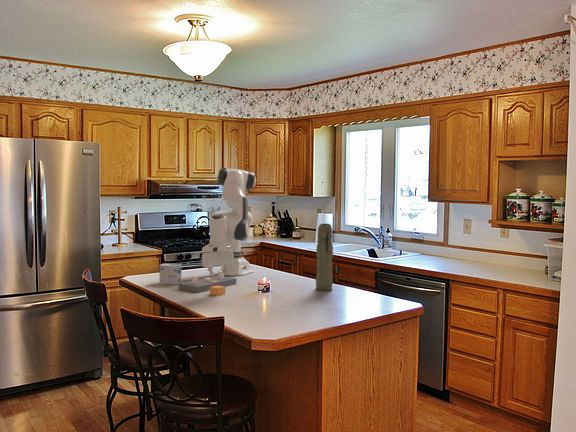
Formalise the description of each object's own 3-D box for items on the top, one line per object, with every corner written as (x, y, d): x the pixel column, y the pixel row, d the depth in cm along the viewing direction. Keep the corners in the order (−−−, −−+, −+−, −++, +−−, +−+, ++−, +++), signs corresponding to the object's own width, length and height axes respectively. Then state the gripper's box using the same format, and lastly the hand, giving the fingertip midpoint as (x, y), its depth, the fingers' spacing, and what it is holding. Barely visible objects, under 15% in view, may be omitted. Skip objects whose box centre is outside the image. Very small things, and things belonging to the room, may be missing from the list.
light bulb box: (181, 282, 293) (181, 263, 292) (178, 285, 286) (178, 265, 286) (163, 282, 294) (163, 263, 294) (159, 284, 288) (159, 264, 287)
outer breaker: (195, 283, 277) (195, 275, 276) (198, 284, 275) (198, 276, 275) (191, 284, 275) (191, 276, 275) (195, 284, 273) (195, 276, 273)
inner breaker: (220, 278, 293) (220, 270, 293) (224, 278, 292) (224, 271, 291) (217, 278, 291) (217, 271, 291) (221, 279, 290) (221, 271, 289)
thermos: (323, 292, 273) (324, 225, 270) (311, 288, 283) (312, 223, 280) (337, 290, 277) (338, 224, 275) (324, 286, 287) (325, 222, 285)
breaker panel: (217, 280, 300) (217, 275, 299) (236, 283, 292) (236, 278, 291) (178, 289, 275) (178, 283, 275) (197, 292, 267) (197, 286, 267)
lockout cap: (217, 292, 268) (217, 285, 268) (225, 293, 265) (225, 286, 265) (210, 294, 264) (210, 287, 264) (218, 295, 261) (218, 288, 261)
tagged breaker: (208, 285, 285) (208, 277, 285) (211, 286, 284) (211, 278, 283) (205, 286, 283) (205, 278, 283) (208, 286, 282) (208, 278, 281)
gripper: (227, 245, 273) (227, 271, 274) (199, 248, 257) (199, 276, 257) (236, 245, 270) (236, 272, 270) (209, 249, 253) (209, 277, 254)
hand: (218, 274), depth 264 cm, fingers open, 8 cm apart
